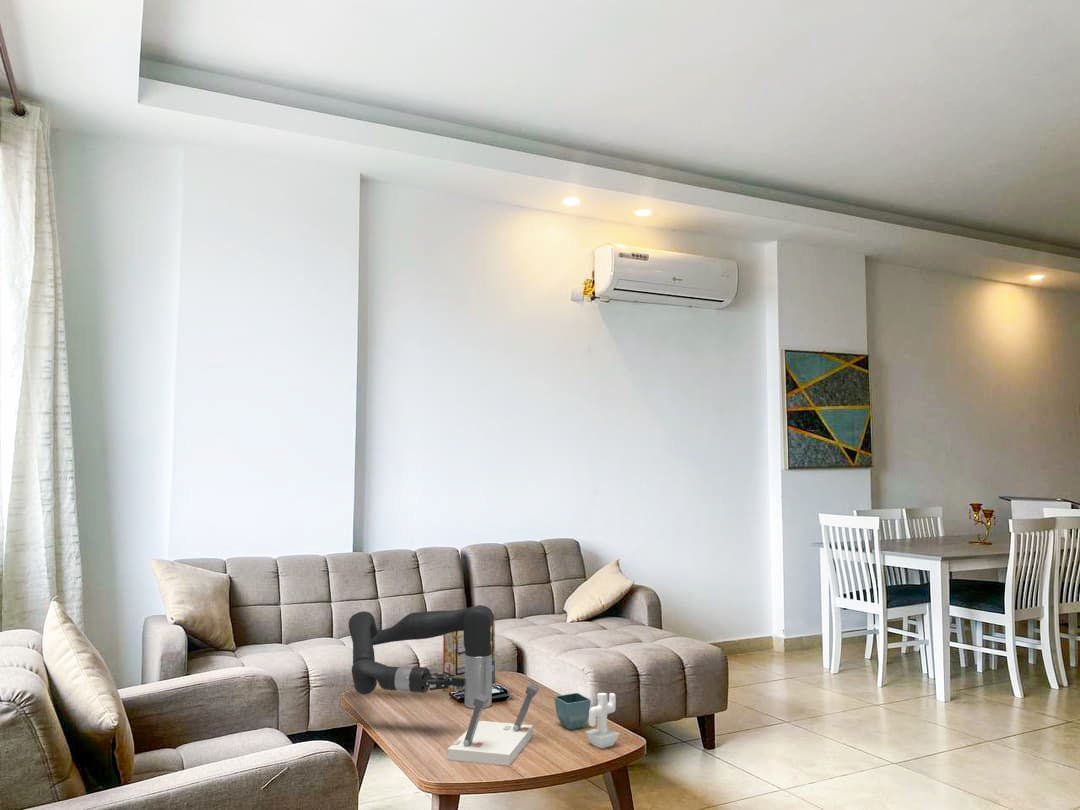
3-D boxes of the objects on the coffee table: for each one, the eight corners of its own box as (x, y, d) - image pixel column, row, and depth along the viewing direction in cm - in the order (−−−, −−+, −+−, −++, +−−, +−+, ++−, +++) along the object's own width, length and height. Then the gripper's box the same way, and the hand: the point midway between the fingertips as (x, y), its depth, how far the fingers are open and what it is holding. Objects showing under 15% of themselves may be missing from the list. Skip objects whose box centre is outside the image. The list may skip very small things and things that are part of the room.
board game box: (484, 680, 315) (485, 608, 316) (495, 683, 310) (496, 610, 312) (442, 691, 300) (443, 615, 302) (452, 694, 296) (453, 618, 298)
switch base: (477, 730, 257) (477, 719, 258) (533, 735, 253) (533, 724, 253) (447, 759, 232) (447, 747, 232) (509, 765, 228) (509, 753, 228)
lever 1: (465, 739, 239) (480, 693, 239) (474, 742, 238) (488, 697, 238) (460, 744, 234) (475, 698, 234) (469, 748, 234) (484, 701, 234)
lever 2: (514, 724, 252) (531, 682, 251) (522, 728, 251) (539, 687, 251) (510, 728, 248) (527, 686, 247) (518, 733, 247) (535, 691, 246)
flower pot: (567, 733, 255) (567, 703, 256) (553, 724, 263) (553, 696, 264) (591, 728, 259) (591, 699, 260) (577, 720, 267) (577, 692, 268)
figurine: (582, 744, 245) (582, 693, 246) (606, 738, 250) (606, 688, 251) (598, 751, 239) (598, 698, 240) (622, 745, 245) (622, 693, 245)
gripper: (420, 686, 264) (472, 689, 260) (403, 697, 251) (457, 701, 247) (420, 662, 264) (472, 664, 260) (403, 672, 252) (457, 675, 247)
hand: (464, 682), depth 253 cm, fingers closed
